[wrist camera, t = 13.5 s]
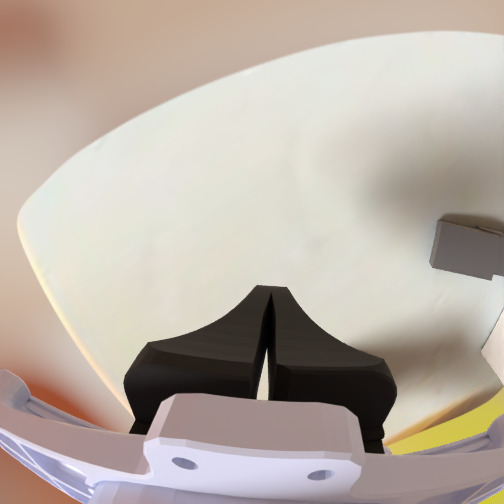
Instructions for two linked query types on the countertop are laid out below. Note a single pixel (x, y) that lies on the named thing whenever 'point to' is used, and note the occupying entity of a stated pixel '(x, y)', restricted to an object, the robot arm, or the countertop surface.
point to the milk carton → (496, 348)
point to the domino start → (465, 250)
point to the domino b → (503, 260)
